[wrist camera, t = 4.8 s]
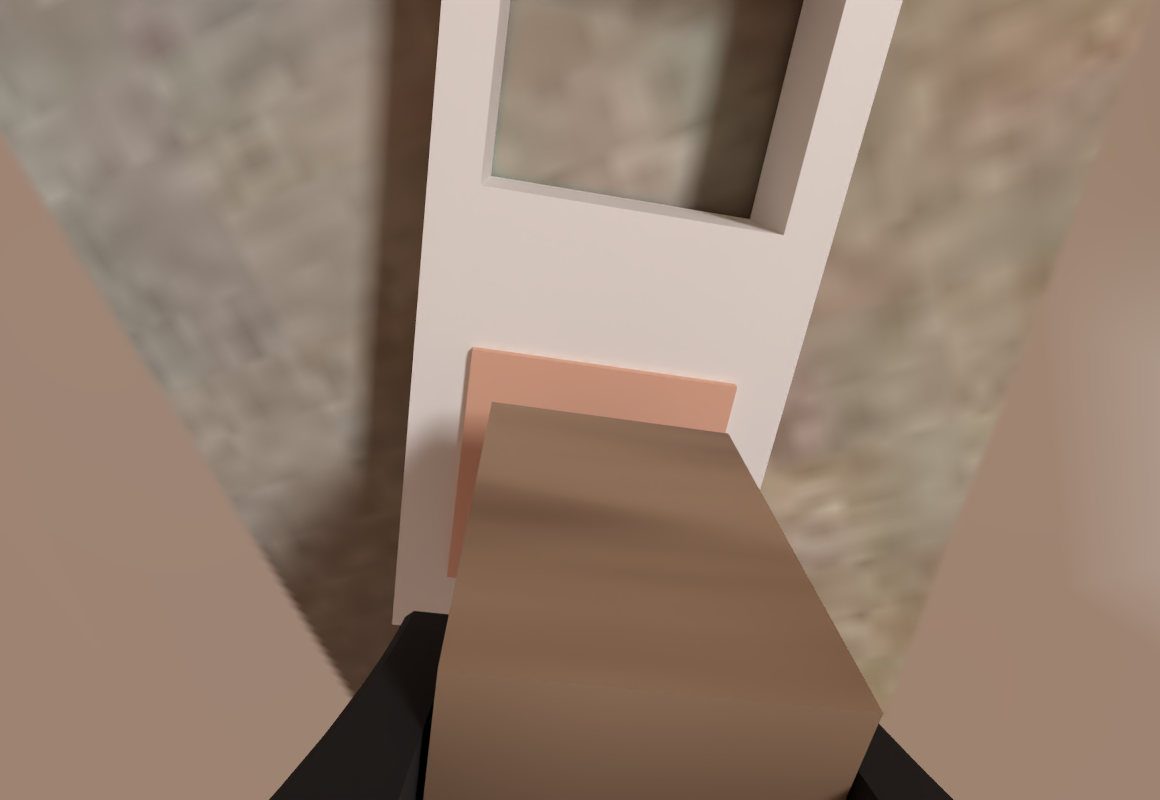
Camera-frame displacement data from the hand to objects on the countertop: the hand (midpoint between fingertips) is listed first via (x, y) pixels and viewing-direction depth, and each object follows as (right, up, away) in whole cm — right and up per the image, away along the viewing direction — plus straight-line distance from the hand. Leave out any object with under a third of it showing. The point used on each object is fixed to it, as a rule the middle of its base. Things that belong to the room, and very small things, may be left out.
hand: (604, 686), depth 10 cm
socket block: (0, +7, +6) cm, 10 cm away
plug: (0, +2, +4) cm, 4 cm away
